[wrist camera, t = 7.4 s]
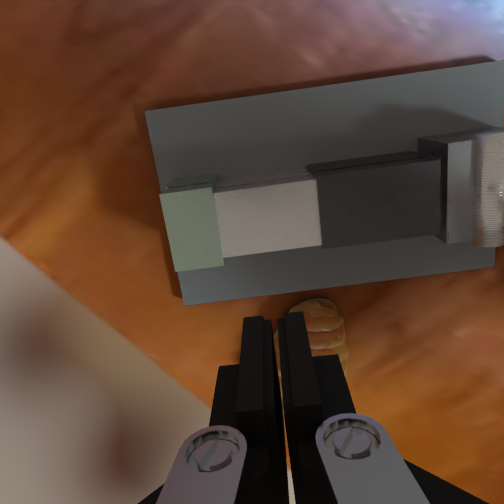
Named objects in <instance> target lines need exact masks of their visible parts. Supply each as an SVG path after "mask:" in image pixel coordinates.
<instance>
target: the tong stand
mask: <svg viewBox="0 0 504 504" xmlns="http://www.w3.org/2000/svg"><path fill="white" fill-rule="evenodd" d="M424 157H433V158H437V159H440V160H441V171H440V234H436V235H434V236H435V237H437V238H438V239H440V240H441V241H442V242H444V243H445V244H454V243H462V242H469V241H471V243H472V244H474V245H476V246H480V247H499V246H502V245H504V128H501V127H490V128H483V129H476V130H468V131H461V132H454V133H447V134H439V135H432V136H425V137H418V153H417V152H413V151H405V152H397V153H390V154H383V155H375V156H368V157H361V158H353V159H346V160H338V161H331V162H324V163H316V164H309V165H306V168H302V169H294V170H287V171H280V172H272V173H265V174H257V175H250V176H243V177H235V178H228V179H220V180H218V176H217V174H213V175H206V176H198V177H191V178H184V179H176V180H173V181H172V182H171V183H170V184H169V185H168V186H167V187H166V189H169V188H176V187H184V186H191V185H198V184H206V183H213V184H214V189H220V188H228V187H235V186H243V185H250V184H257V183H265V182H272V181H279V180H287V179H294V178H302V177H309V176H313V173H314V172H321V171H328V170H336V169H343V168H351V167H358V166H365V165H373V164H380V163H387V162H395V161H402V160H410V159H417V158H424Z"/></svg>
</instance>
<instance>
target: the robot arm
mask: <svg viewBox="0 0 504 504" xmlns="http://www.w3.org/2000/svg"><path fill="white" fill-rule="evenodd" d="M277 326H278V341H279V355H280V370H281V384H282V397H281V390H280V382H279V375H278V367H277V360H276V352H275V345H274V337H273V330H272V322H271V320H264V318H263V316H254V317H245V318H244V320H243V332H242V343H241V354H240V364H235V365H225V366H220V367H219V369H218V375H217V381H216V387H215V393H214V399H213V405H212V411H211V417H210V423H209V427H207V428H204V429H201V430H199V431H197V432H195V433H193V434H192V435H191V436H190V437H188V438H187V439H186V440H185V441H184V442H183V444H182V446H181V447H180V449H179V451H178V454H177V456H176V458H175V460H174V463H173V465H172V468H171V470H170V472H169V474H168V477H167V479H166V481H165V483H164V484H163V485H162V486H160V487H159V488H158V489H157V490H155V491H154V492H153V493H151V494H150V495H149V496H147V497H146V498H145V499H143V500H142V501H141V502H139V503H138V504H289V492H288V477H287V462H286V447H285V433H284V418H285V426H286V434H287V441H288V449H289V456H290V464H291V471H292V479H293V486H294V494H295V501H296V504H489V503H487V502H485V501H483V500H481V499H479V498H477V497H475V496H473V495H471V494H470V493H468V492H466V491H464V490H462V489H460V488H458V487H456V486H454V485H452V484H450V483H448V482H447V481H445V480H443V479H441V478H439V477H437V476H435V475H433V474H431V473H429V472H427V471H425V470H424V469H422V468H420V467H418V466H416V465H414V464H412V463H410V462H408V461H406V460H404V459H403V458H402V456H401V455H400V453H399V452H398V450H397V448H396V447H395V445H394V443H393V442H392V440H391V438H390V437H389V435H388V433H387V432H386V430H385V429H384V428H383V427H382V426H381V424H380V423H378V422H377V421H375V420H374V419H372V418H370V417H367V416H364V415H361V414H356V411H355V408H354V405H353V401H352V398H351V395H350V391H349V388H348V385H347V382H346V378H345V375H344V372H343V369H342V365H341V362H340V359H339V356H338V354H333V355H323V356H313V357H312V353H311V348H310V343H309V338H308V333H307V328H306V323H305V318H304V313H303V311H299V312H290V313H284V318H282V319H277ZM282 399H283V406H282ZM283 410H284V418H283Z"/></svg>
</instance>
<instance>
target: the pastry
mask: <svg viewBox="0 0 504 504" xmlns="http://www.w3.org/2000/svg"><path fill="white" fill-rule="evenodd" d="M299 311H303V313H304V318H305V323H306V328H307V333H308V338H309V343H310V348H311V353H312V357H313V356H323V355H333V354H338V356H339V359H340V362H341V365H342V369H343V372H344V375H345V378H346V371H347V368H348V364H349V359H348V355H349V352H348V347H347V338H346V334H345V329H344V319H343V317H342V316H341V314H340V313H339V312H338V310H337V308H336V306H335V305H334V303H333V302H332V301H330V300H328V299H323V298H312V299H308V300H305V301H303V302H300V303H299V304H297V305H296V306H294V307H292V308H291V309H290V311H289V313H290V312H299ZM273 337H274V345H275V352H276V360H277V367H278V375H279V382H280V390H281V397H282V384H281V370H280V355H279V341H278V328H277V331H276V333H275V334H274V335H273ZM282 406H283V399H282ZM283 414H284V410H283Z"/></svg>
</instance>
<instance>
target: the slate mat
mask: <svg viewBox="0 0 504 504" xmlns="http://www.w3.org/2000/svg"><path fill="white" fill-rule="evenodd" d="M503 110H504V60H501V61H494V62H487V63H479V64H472V65H465V66H458V67H451V68H444V69H437V70H430V71H423V72H416V73H409V74H402V75H395V76H388V77H381V78H374V79H367V80H360V81H353V82H346V83H339V84H332V85H325V86H318V87H311V88H304V89H296V90H289V91H282V92H275V93H268V94H261V95H254V96H247V97H240V98H233V99H226V100H219V101H212V102H205V103H198V104H191V105H184V106H177V107H170V108H163V109H156V110H149V111H144V112H145V117H146V122H147V127H148V132H149V137H150V141H151V146H152V151H153V156H154V161H155V166H156V171H157V175H158V180H159V185H160V190H161V192H162V191H163V190H164V189H166V187H167V186H168V185H169V184H170V183H171V182H172V181H173V180H176V179H184V178H191V177H198V176H206V175H213V174H217V176H218V180H220V179H228V178H235V177H243V176H250V175H257V174H265V173H272V172H280V171H287V170H294V169H302V168H306V165H309V164H316V163H324V162H331V161H338V160H346V159H353V158H361V157H368V156H375V155H383V154H390V153H397V152H405V151H413V152H417V153H418V137H425V136H432V135H439V134H447V133H454V132H461V131H468V130H476V129H483V128H490V127H501V128H503ZM495 251H496V247H480V246H476V245H474V244H472V243H471V241H469V242H462V243H454V244H445V243H444V242H442V241H441V240H440V239H438V238H437V237H435V236H434V235H428V236H420V237H413V238H405V239H397V240H389V241H382V242H374V243H366V244H359V245H351V246H343V247H336V248H328V249H322V247H321V245H318V246H310V247H303V248H295V249H287V250H280V251H272V252H264V253H257V254H249V255H241V256H234V257H226V258H225V264H224V266H218V267H210V268H202V269H195V270H187V271H179V272H177V273H178V278H179V282H180V287H181V292H182V297H183V302H184V306H187V305H195V304H203V303H211V302H219V301H227V300H235V299H243V298H251V297H259V296H267V295H275V294H283V293H291V292H299V291H307V290H315V289H323V288H331V287H339V286H347V285H355V284H363V283H371V282H379V281H387V280H395V279H403V278H411V277H419V276H427V275H435V274H443V273H451V272H459V271H467V270H475V269H483V268H491V267H495Z"/></svg>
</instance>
